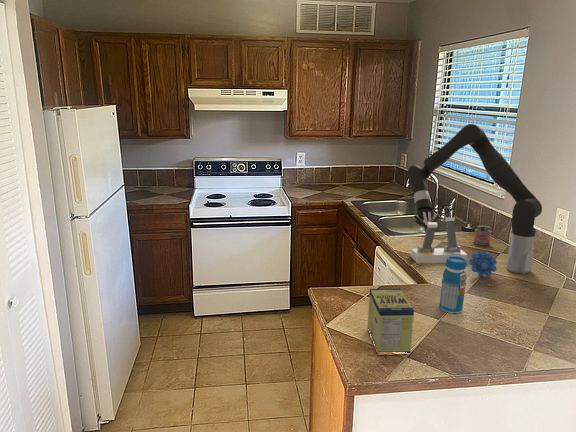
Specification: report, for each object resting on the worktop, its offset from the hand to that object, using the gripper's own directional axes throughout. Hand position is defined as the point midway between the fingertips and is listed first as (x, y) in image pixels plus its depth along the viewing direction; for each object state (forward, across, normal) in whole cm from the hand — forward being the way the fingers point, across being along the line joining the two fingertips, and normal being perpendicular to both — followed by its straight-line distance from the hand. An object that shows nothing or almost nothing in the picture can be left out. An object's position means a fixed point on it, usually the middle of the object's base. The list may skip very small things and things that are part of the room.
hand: (429, 233), depth 202 cm
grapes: (+24, +18, -4) cm, 30 cm away
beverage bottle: (+43, -8, -24) cm, 50 cm away
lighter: (-6, +38, +26) cm, 47 cm away
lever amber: (+5, 0, +8) cm, 9 cm away
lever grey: (+5, +13, +8) cm, 16 cm away
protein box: (+57, -37, -39) cm, 79 cm away
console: (+9, +6, +11) cm, 15 cm away
